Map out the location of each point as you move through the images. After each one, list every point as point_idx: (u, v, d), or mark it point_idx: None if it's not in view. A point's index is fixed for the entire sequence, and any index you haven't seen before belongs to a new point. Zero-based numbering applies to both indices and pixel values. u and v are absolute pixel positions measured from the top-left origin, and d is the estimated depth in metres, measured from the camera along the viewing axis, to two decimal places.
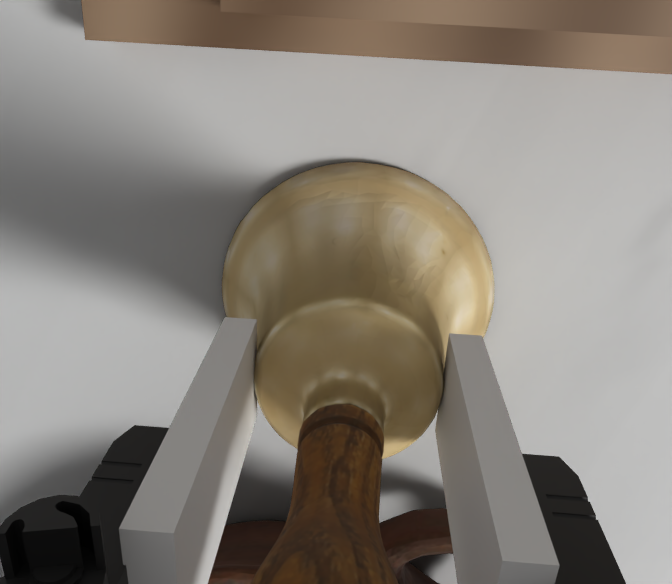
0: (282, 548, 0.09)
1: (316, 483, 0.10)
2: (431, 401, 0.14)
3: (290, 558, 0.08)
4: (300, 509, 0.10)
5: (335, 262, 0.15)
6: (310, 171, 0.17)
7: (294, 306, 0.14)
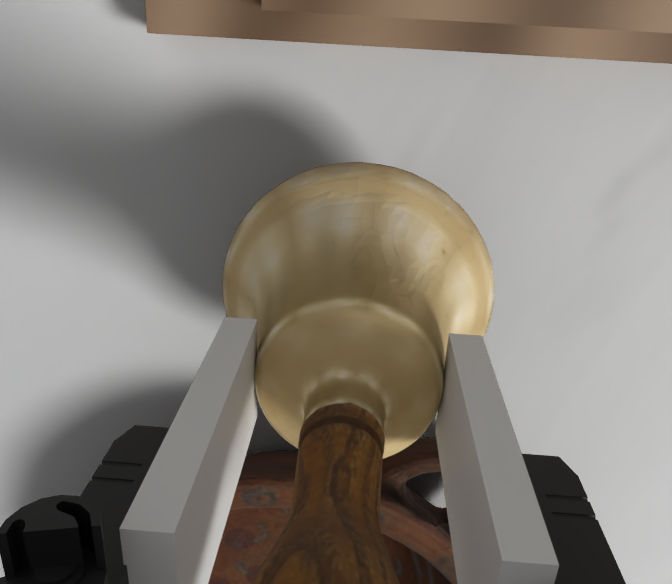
0: (283, 548, 0.09)
1: (317, 483, 0.10)
2: (431, 401, 0.14)
3: (291, 557, 0.08)
4: (301, 509, 0.10)
5: (335, 262, 0.15)
6: (311, 171, 0.17)
7: (294, 305, 0.14)
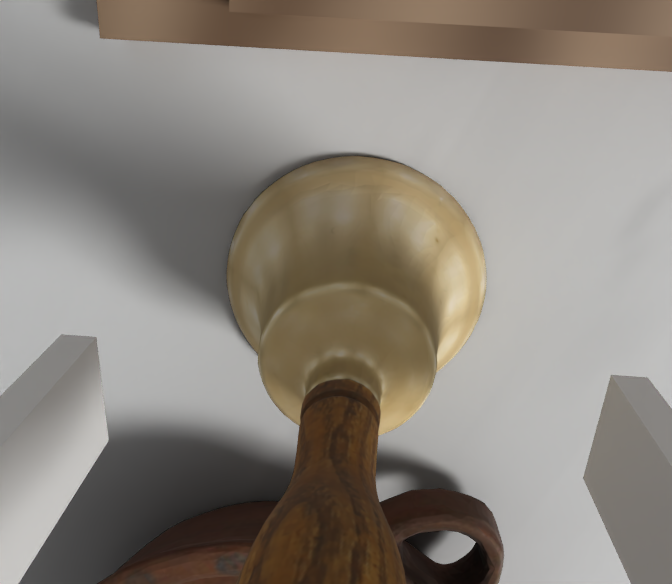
0: (287, 501, 0.10)
1: (318, 448, 0.11)
2: (425, 379, 0.15)
3: (294, 508, 0.09)
4: (303, 470, 0.11)
5: (334, 249, 0.16)
6: (310, 165, 0.18)
7: (296, 290, 0.15)
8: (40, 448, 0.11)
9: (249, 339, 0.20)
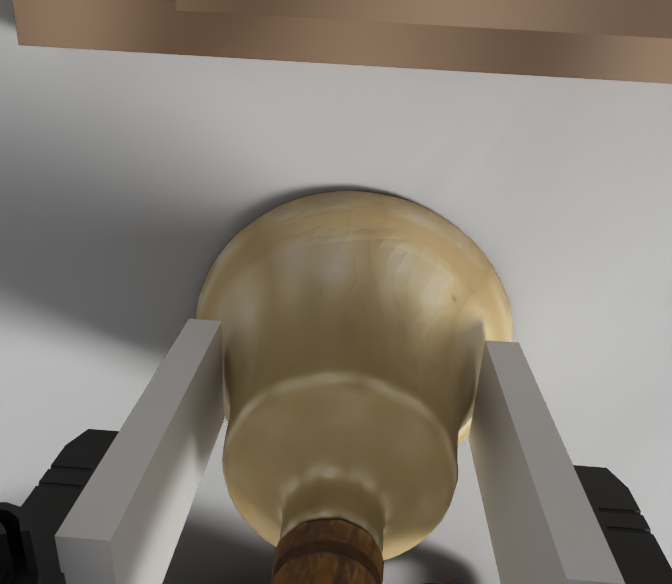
0: None
1: None
2: (442, 496, 0.11)
3: None
4: None
5: (323, 319, 0.12)
6: (295, 202, 0.15)
7: (270, 379, 0.11)
8: (191, 420, 0.12)
9: None
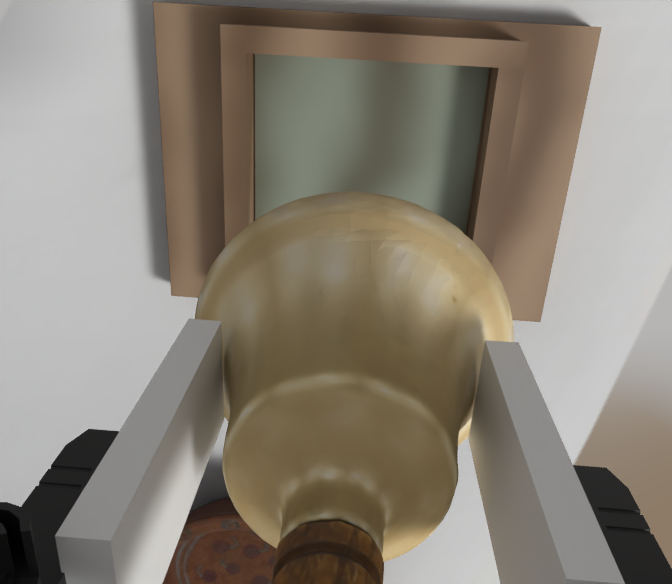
0: None
1: None
2: (443, 497, 0.11)
3: None
4: None
5: (323, 320, 0.12)
6: (295, 203, 0.15)
7: (270, 380, 0.11)
8: (191, 420, 0.12)
9: None
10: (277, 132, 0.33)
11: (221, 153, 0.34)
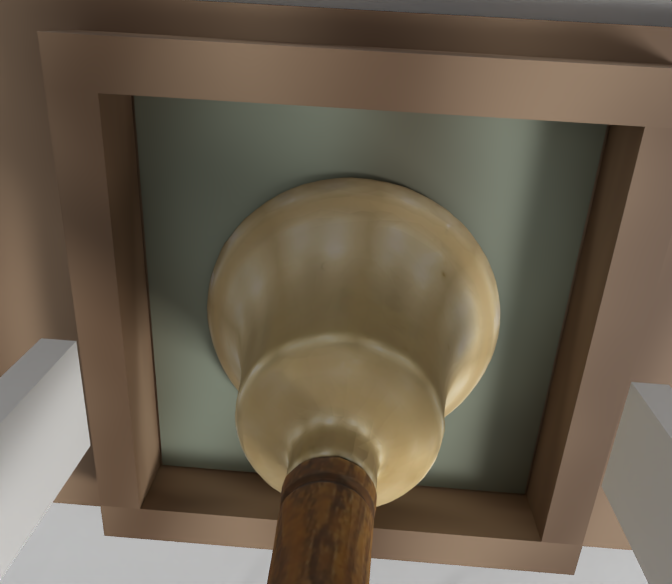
0: None
1: (295, 560, 0.09)
2: (431, 445, 0.13)
3: None
4: None
5: (323, 290, 0.14)
6: (298, 188, 0.16)
7: (277, 341, 0.13)
8: (15, 455, 0.11)
9: (233, 382, 0.18)
10: (188, 238, 0.17)
11: None
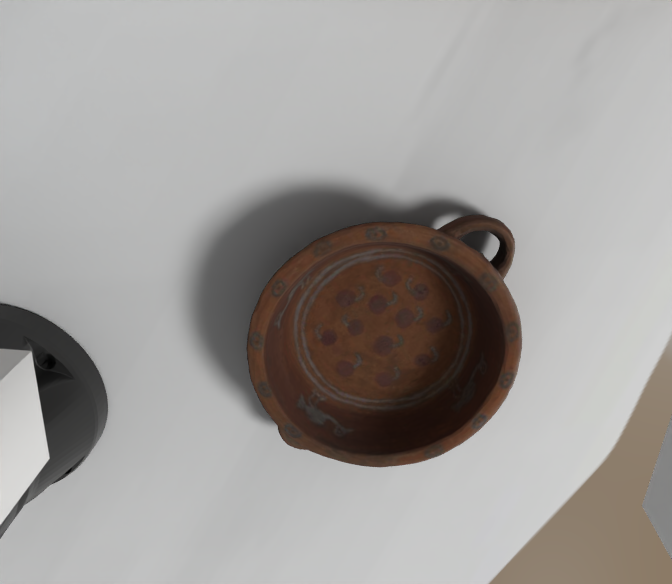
0: None
1: None
2: None
3: None
4: None
5: None
6: None
7: None
8: None
9: None
10: None
11: None
